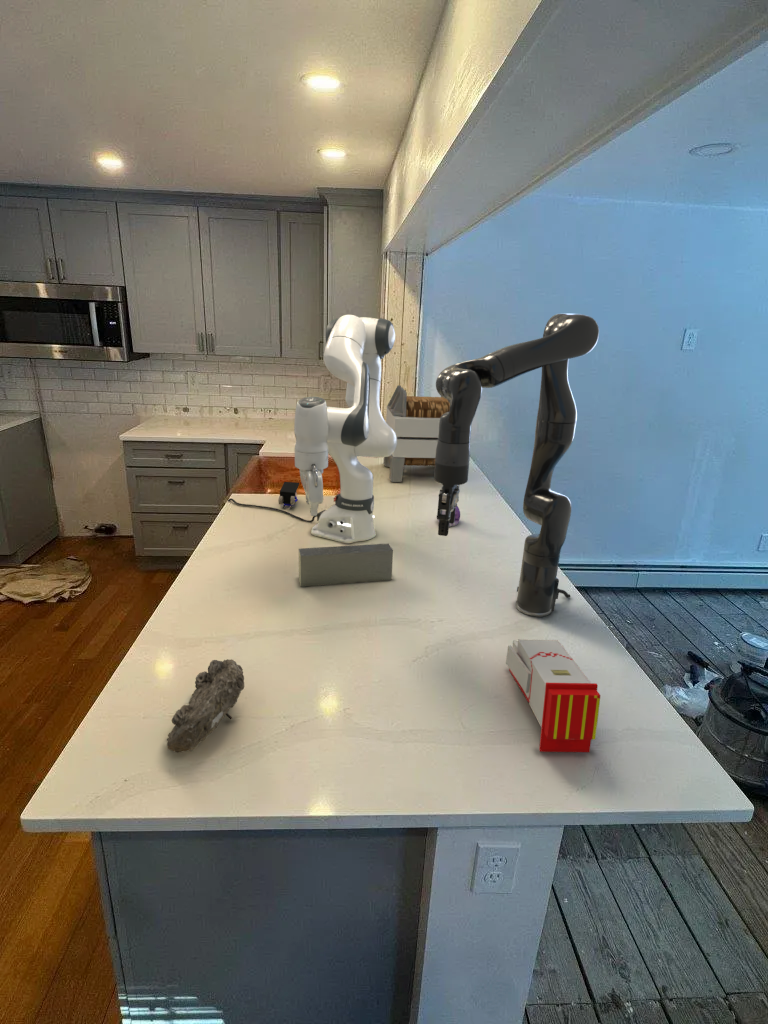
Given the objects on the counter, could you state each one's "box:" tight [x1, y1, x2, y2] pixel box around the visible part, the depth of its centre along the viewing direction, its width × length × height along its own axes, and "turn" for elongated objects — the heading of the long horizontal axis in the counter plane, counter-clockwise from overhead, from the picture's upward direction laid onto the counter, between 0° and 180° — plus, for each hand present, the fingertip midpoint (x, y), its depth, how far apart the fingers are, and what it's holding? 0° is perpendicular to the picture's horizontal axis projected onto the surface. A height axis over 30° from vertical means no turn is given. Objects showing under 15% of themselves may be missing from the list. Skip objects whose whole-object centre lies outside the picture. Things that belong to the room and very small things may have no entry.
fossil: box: [166, 658, 245, 754], centre depth 106 cm, size 22×10×15 cm
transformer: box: [383, 384, 452, 483], centre depth 268 cm, size 34×33×41 cm
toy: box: [505, 638, 602, 753], centre depth 114 cm, size 12×13×30 cm
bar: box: [298, 543, 394, 588], centre depth 163 cm, size 26×5×10 cm, turn 104°
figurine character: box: [278, 481, 300, 510], centre depth 223 cm, size 7×8×15 cm
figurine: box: [437, 505, 461, 528], centre depth 209 cm, size 9×10×15 cm
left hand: (311, 509), depth 155 cm, fingers open, 8 cm apart
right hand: (446, 528), depth 131 cm, fingers open, 8 cm apart
